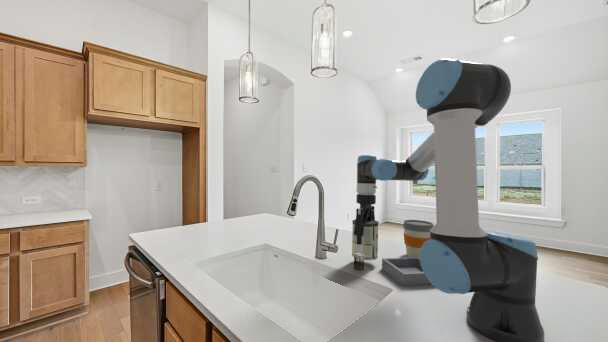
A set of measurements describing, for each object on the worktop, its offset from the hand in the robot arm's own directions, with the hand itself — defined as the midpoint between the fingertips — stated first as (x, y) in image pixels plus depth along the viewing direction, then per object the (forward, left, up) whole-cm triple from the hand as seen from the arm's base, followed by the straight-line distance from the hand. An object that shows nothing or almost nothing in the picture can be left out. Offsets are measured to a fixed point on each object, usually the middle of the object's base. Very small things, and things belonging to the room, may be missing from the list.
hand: (364, 249), depth 107 cm
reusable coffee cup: (+6, -28, -6) cm, 29 cm away
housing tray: (-14, -12, -6) cm, 19 cm away
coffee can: (0, 0, -3) cm, 3 cm away
